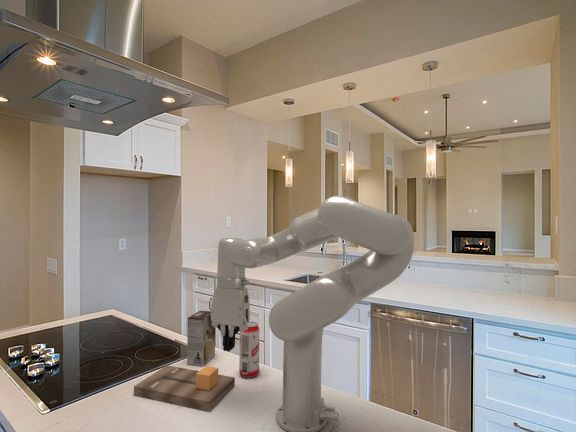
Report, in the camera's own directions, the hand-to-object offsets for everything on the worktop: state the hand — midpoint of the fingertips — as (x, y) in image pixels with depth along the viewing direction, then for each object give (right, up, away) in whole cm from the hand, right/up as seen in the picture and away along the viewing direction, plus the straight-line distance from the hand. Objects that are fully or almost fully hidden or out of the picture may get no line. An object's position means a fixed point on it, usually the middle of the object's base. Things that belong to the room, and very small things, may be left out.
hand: (228, 349), depth 90 cm
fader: (-6, -11, +2) cm, 13 cm away
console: (-13, -13, +4) cm, 19 cm away
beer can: (+4, -14, +14) cm, 20 cm away
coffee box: (-14, -14, +24) cm, 31 cm away
